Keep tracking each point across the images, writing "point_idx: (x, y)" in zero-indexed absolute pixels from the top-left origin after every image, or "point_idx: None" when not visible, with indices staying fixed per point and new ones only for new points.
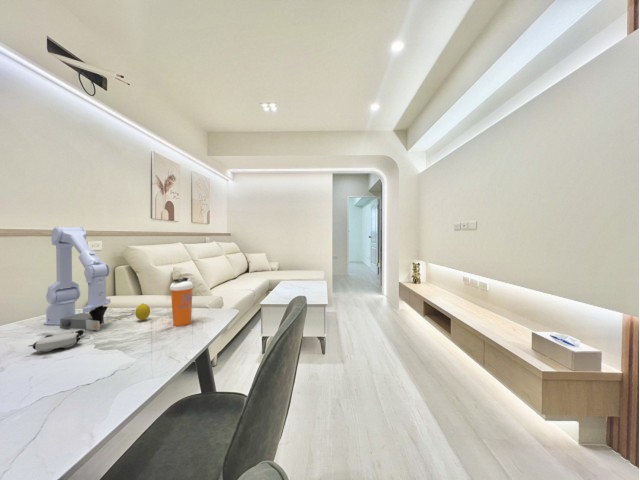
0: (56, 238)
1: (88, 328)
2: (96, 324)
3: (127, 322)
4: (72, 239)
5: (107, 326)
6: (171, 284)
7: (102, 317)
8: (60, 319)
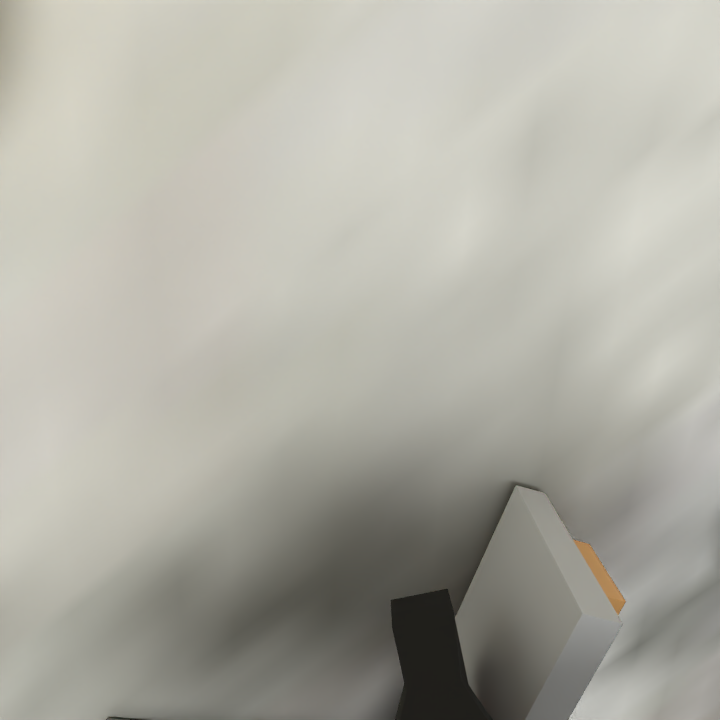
0: None
1: None
2: (606, 588)
3: (38, 306)
4: None
5: (293, 518)
6: None
7: (418, 702)
8: None
